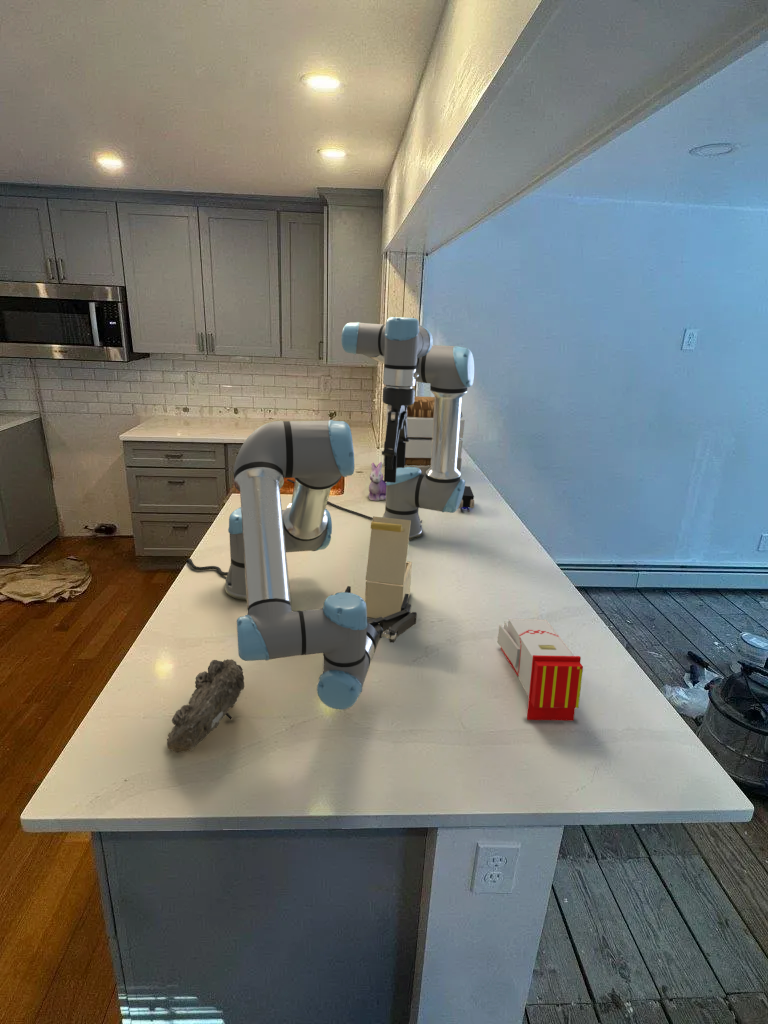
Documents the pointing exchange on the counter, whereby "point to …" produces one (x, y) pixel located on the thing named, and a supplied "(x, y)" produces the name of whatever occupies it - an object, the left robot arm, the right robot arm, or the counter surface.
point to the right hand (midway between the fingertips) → (394, 474)
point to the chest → (386, 595)
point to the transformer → (423, 433)
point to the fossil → (206, 705)
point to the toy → (542, 668)
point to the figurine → (377, 484)
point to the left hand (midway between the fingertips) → (377, 595)
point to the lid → (388, 550)
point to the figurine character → (467, 499)
